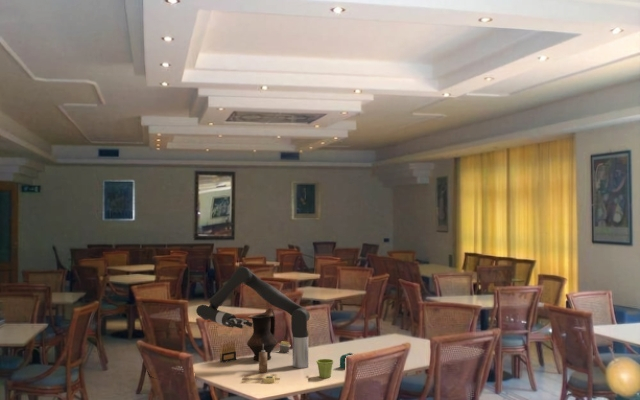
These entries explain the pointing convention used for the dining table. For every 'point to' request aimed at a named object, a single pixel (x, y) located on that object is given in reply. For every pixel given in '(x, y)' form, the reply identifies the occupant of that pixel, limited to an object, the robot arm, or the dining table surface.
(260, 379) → the plywood panel
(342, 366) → the bracket
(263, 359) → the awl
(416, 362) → the dining table surface
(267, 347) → the jug
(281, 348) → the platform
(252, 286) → the robot arm
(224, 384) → the dining table surface
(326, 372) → the plant pot
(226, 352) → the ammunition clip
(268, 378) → the stud finder
